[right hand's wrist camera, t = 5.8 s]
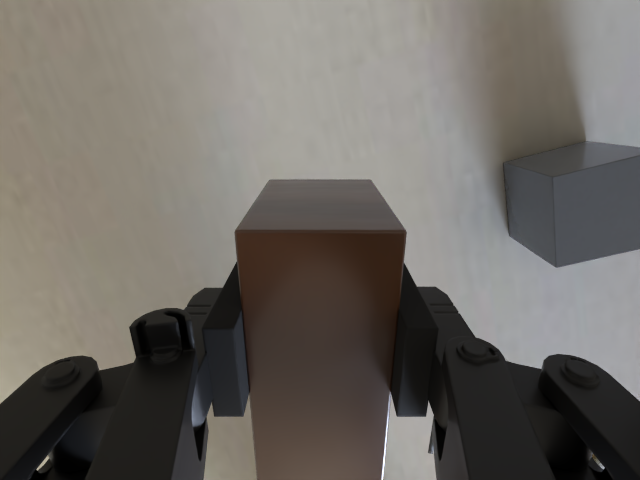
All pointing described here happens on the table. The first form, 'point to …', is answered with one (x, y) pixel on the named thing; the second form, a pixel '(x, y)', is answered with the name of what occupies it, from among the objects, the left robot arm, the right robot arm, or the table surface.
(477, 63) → the table surface
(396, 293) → the walnut bar
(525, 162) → the slate cube
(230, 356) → the right robot arm
